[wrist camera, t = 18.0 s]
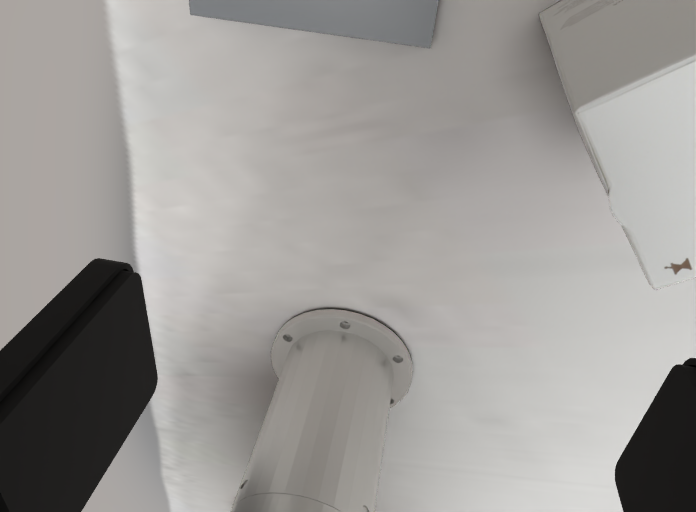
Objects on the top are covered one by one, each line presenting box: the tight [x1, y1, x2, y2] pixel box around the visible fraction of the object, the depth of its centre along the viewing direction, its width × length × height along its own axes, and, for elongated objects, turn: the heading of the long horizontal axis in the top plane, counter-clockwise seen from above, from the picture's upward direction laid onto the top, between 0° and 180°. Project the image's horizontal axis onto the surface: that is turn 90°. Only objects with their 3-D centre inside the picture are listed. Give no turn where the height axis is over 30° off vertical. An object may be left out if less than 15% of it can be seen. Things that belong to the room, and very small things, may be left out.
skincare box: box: [539, 0, 696, 290], centre depth 23 cm, size 8×7×16 cm
